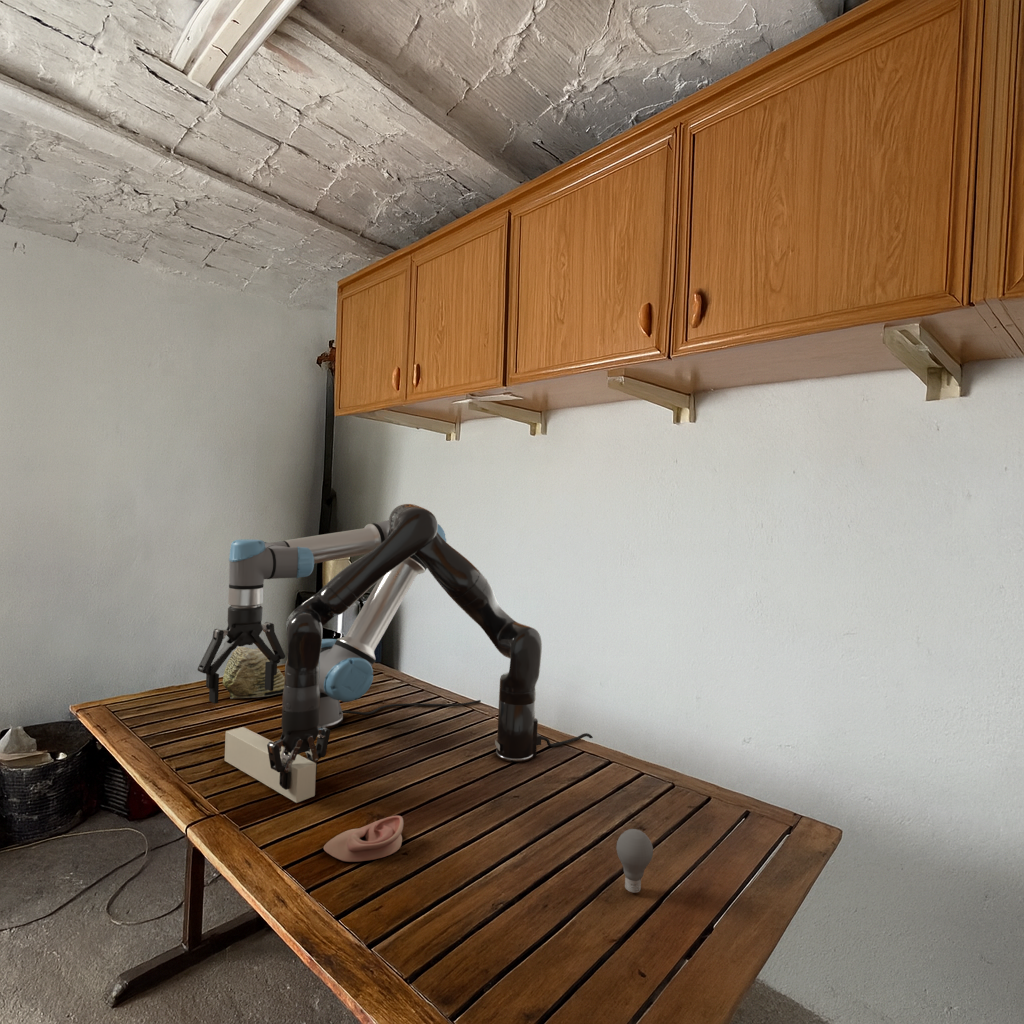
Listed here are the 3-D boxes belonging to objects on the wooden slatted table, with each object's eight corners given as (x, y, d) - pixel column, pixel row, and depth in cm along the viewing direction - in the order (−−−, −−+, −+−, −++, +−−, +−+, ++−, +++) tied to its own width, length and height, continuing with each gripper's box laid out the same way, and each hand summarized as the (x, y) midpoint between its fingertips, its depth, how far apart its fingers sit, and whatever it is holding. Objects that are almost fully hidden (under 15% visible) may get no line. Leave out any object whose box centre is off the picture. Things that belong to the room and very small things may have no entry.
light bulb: (610, 879, 108) (613, 822, 108) (644, 879, 109) (647, 822, 109) (619, 902, 102) (622, 840, 102) (655, 901, 103) (658, 840, 103)
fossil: (218, 695, 195) (220, 647, 195) (278, 685, 208) (279, 640, 207) (228, 703, 189) (230, 653, 188) (289, 692, 201) (290, 645, 201)
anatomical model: (315, 834, 111) (345, 804, 122) (314, 856, 111) (344, 824, 123) (386, 846, 109) (410, 814, 120) (385, 869, 109) (409, 834, 120)
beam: (224, 760, 149) (225, 731, 149) (242, 755, 153) (243, 726, 153) (296, 803, 131) (297, 769, 130) (314, 796, 134) (316, 763, 134)
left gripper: (284, 598, 161) (281, 681, 161) (183, 608, 141) (180, 703, 141) (301, 602, 156) (298, 688, 156) (199, 613, 136) (195, 711, 137)
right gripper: (319, 693, 142) (317, 768, 142) (259, 707, 131) (256, 789, 131) (340, 701, 137) (337, 778, 137) (279, 716, 126) (276, 801, 126)
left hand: (242, 695), depth 149 cm, fingers open, 13 cm apart
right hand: (298, 783), depth 134 cm, fingers open, 5 cm apart
